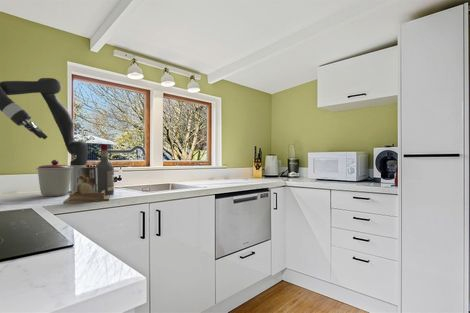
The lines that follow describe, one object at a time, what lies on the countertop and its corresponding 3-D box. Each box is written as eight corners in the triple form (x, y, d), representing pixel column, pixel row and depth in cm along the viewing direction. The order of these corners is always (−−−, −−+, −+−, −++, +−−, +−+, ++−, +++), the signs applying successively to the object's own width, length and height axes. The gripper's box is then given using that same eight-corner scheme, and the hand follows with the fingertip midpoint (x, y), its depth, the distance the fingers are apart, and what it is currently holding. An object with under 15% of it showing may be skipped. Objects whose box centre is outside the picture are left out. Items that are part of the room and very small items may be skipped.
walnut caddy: (68, 198, 149) (68, 191, 149) (109, 196, 157) (109, 189, 157) (63, 203, 135) (63, 195, 135) (108, 200, 142) (108, 192, 142)
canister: (78, 194, 166) (78, 159, 166) (44, 198, 151) (44, 160, 151) (64, 192, 176) (63, 159, 177) (30, 196, 162) (30, 160, 162)
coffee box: (98, 196, 150) (98, 167, 150) (96, 198, 144) (96, 167, 144) (79, 197, 148) (79, 167, 148) (76, 199, 142) (76, 167, 142)
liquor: (94, 196, 160) (93, 144, 160) (98, 194, 169) (98, 144, 169) (111, 195, 162) (110, 144, 162) (114, 193, 170) (114, 144, 171)
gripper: (18, 107, 134) (46, 131, 138) (27, 111, 147) (53, 133, 151) (4, 117, 131) (34, 142, 136) (15, 121, 145) (41, 143, 149)
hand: (44, 137), depth 143 cm, fingers open, 8 cm apart
